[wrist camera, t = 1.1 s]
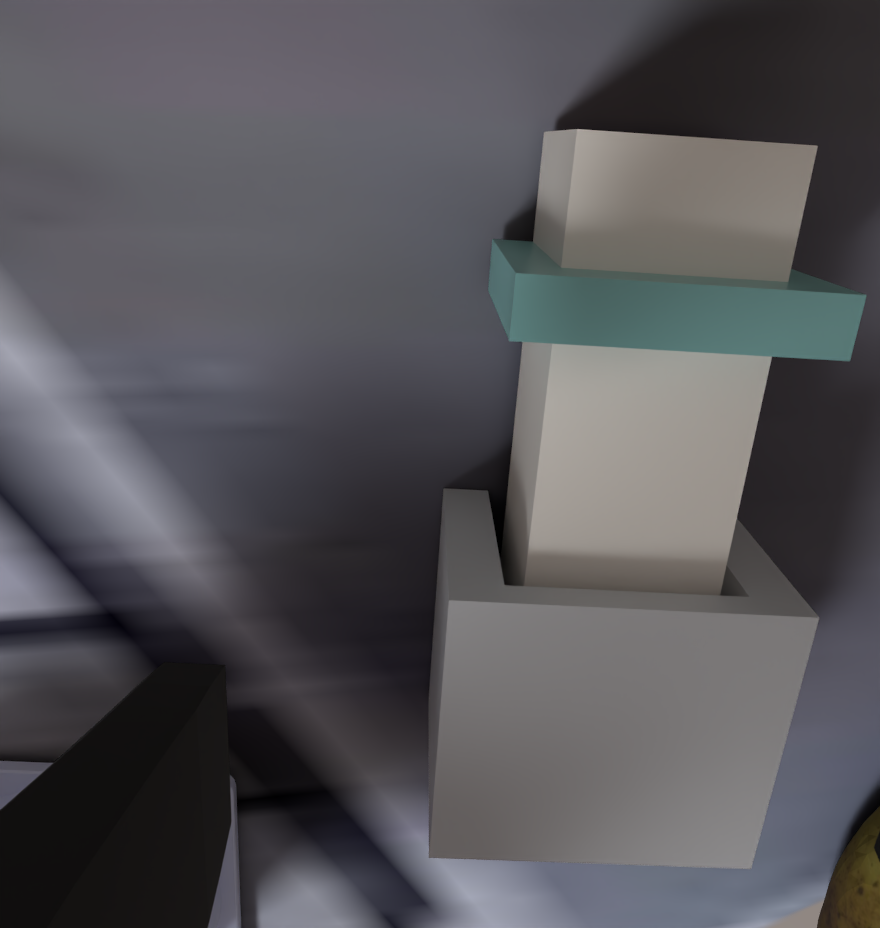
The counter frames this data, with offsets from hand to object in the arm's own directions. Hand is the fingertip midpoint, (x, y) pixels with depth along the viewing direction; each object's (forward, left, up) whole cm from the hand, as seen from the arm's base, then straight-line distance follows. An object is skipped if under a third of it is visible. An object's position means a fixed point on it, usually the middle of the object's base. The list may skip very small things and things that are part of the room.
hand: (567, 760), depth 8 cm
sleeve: (+2, -4, -10) cm, 11 cm away
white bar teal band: (+2, 0, -10) cm, 10 cm away
